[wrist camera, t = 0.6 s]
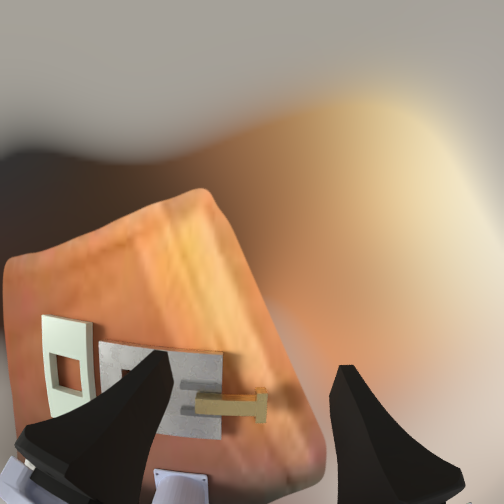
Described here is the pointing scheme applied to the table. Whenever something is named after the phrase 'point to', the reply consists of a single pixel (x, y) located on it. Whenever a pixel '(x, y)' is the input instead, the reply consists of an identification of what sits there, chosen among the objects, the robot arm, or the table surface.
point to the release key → (234, 404)
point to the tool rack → (73, 346)
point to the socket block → (185, 383)
